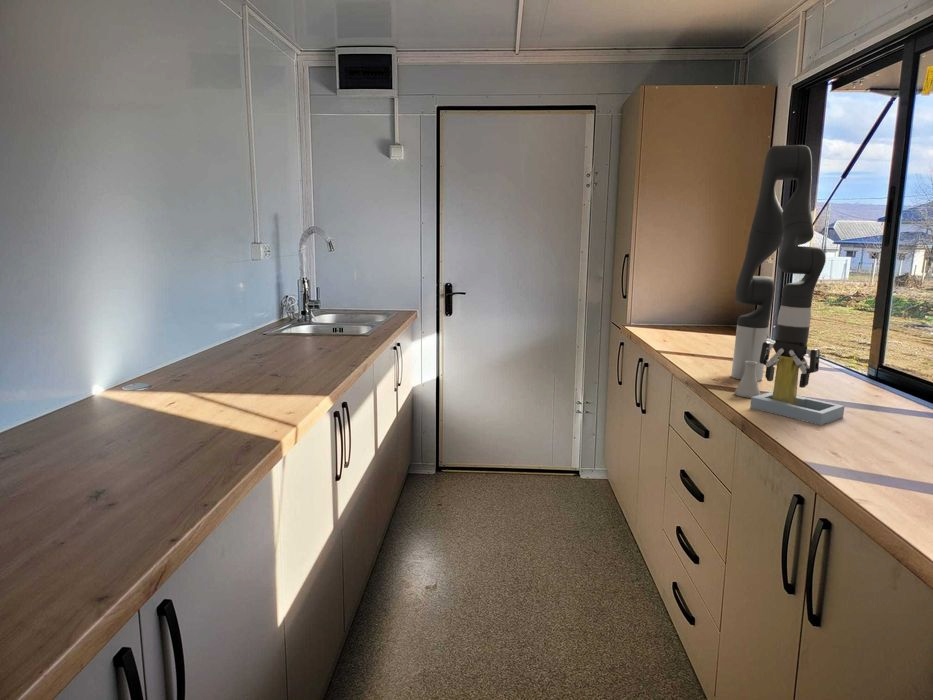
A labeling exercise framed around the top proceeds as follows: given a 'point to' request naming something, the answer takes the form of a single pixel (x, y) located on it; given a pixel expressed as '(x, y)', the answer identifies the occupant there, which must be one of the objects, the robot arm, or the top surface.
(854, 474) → the top surface
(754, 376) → the flask
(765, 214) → the robot arm
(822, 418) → the keyhole board
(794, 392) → the vase
